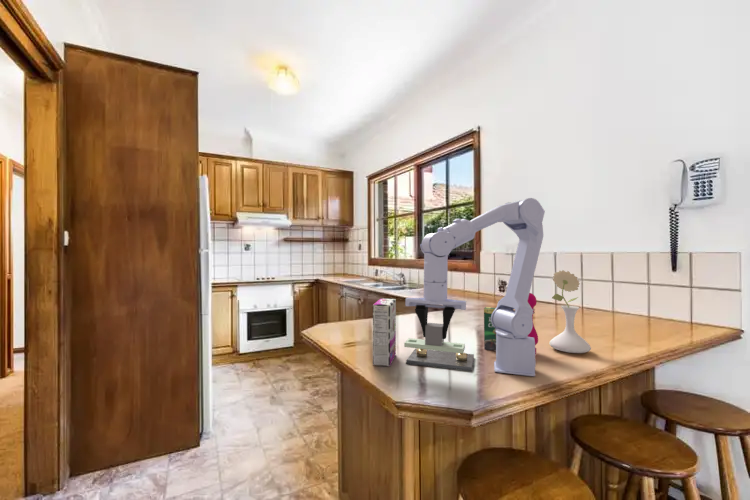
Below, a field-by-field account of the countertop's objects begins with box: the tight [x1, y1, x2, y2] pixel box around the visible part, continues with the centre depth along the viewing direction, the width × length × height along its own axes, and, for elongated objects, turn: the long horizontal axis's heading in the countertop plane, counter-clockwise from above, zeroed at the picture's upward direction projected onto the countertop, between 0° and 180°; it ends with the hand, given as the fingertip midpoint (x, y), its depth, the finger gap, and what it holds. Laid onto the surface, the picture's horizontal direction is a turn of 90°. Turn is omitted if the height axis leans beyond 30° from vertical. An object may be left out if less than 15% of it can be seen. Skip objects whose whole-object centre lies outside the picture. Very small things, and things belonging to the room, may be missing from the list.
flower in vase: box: [549, 269, 592, 354], centre depth 110 cm, size 13×11×25 cm
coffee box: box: [483, 306, 496, 352], centre depth 109 cm, size 8×3×13 cm, turn 61°
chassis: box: [405, 348, 475, 372], centre depth 98 cm, size 17×12×4 cm
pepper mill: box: [528, 292, 539, 356], centre depth 107 cm, size 7×7×20 cm
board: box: [403, 322, 466, 353], centre depth 86 cm, size 14×5×6 cm, turn 72°
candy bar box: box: [372, 298, 397, 367], centre depth 98 cm, size 11×5×16 cm, turn 168°
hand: (434, 337), depth 86 cm, fingers closed on board, 4 cm apart
